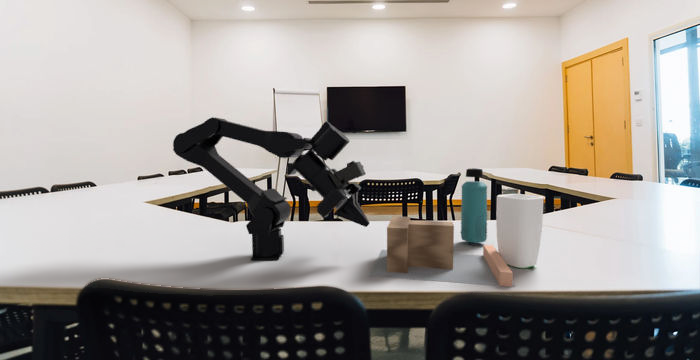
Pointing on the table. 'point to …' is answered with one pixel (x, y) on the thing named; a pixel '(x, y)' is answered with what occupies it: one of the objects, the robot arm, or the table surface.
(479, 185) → the teal bottle
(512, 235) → the cup
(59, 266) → the table surface
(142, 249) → the table surface
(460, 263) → the runner mat
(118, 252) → the table surface
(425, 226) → the t block
